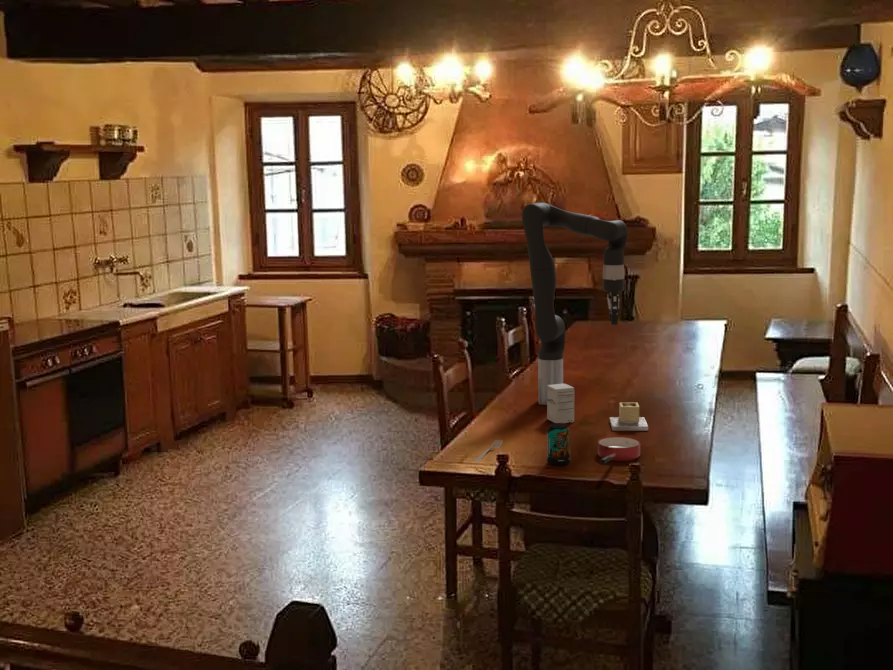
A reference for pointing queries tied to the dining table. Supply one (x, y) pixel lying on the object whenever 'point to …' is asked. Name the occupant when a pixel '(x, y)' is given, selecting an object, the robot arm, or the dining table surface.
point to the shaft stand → (628, 424)
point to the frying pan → (618, 448)
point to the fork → (488, 450)
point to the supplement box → (560, 403)
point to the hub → (629, 412)
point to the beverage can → (558, 444)
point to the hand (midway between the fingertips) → (613, 322)
